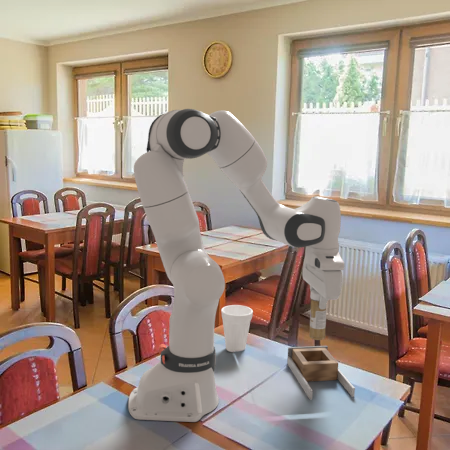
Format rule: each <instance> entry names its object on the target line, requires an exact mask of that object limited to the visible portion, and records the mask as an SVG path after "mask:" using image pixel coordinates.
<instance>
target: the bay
mask: <svg viewBox="0 0 450 450" xmlns="http://www.w3.org/2000/svg"><path fill="white" fill-rule="evenodd" d="M328 347H329V346H328V345H316V346H313V345H312V346H291V347H290V346H288V347H287V361H286V364H287V366H288V367H289V369H290V371H291V372H292V375H293V376H294V377H295V379H296V381H298V384H299V385H300V386H301V388H302V389H303V391H304V392H305V395H306V396H307V397H308V399H309V400H311V401H312V400H313V391H314V390H313V388H312V387H311V385H310V384H309V383H308V382H307V381H306V380H305V378H304V377H303V375H302V374H301V372H300V371H299V369H298V368H297V366H296V365H295V363H294V362H293V360H292V349H304V348H326V349H327V350H328V351H329V349H328ZM337 380H338V382H339V383H340V384H341V385H342V387H344V389H345V390H346V391H347V392H348V394H349V395H350V397H351V398H355V394H356V393H355V390H356V387H355V386H354V385H353V384H352V383H351V382H350V380H349V379H348V378H347V377H346V376H345V375H344V373H343V372H342V370H340V368H339V367H338V375H337Z"/></svg>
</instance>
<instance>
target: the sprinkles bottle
mask: <svg viewBox="0 0 450 450" xmlns="http://www.w3.org/2000/svg"><path fill="white" fill-rule="evenodd" d="M318 301H320V294H319V293H318V292H317V291H316V290H312V291H310V309H309V311H310V312H309V314H310V315H309V316H310V317H309V335H308V337H309V339H312V340H314V341H322V340H325V338H326V325H327V308H326V309H320V308H319V307H318Z"/></svg>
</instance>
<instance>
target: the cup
mask: <svg viewBox="0 0 450 450" xmlns="http://www.w3.org/2000/svg"><path fill="white" fill-rule="evenodd" d="M220 310H221V318H222V326H223V333H224V343H225V350H226V351H228V352H230V353H235V352H242V351H244V350H246V347H247V342H248V336H249V330H250V324H251V320H252V318H253V315H254V314H253V313H254V311H253V309H252V308H250V307H249V306H246V305H241V304H231V305H226V306H223V307H222V308H221V309H220Z"/></svg>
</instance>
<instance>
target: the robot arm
mask: <svg viewBox="0 0 450 450" xmlns="http://www.w3.org/2000/svg"><path fill="white" fill-rule="evenodd" d="M205 154H207V155H208V156H209V157H210V158H211V159H212V160H213V162H214V163H215V164H216V166H218V167H217V168H219V169H220V170H221V171H222V172H223V174H224V176H226V177H227V178H228V179H229V180H230V181H231V183H233V184H234V185H235V187H236V188H238V190H239V191H240V192H241V193H240V194H242V195H243V198H245V200H246V201H247V203H248V204H249V206H250V207H251V208H252V209H253V211H254V212H255V214H256V215H257V219H258V223H259V226H260V229H261V231H262V233H263V235H264V236H265V237H266V238H268V239H270V240H272V241H276V242H279V243H281V244H282V243H283V244H284V245H288V246H290V247H293V248H298V249H300V248H305V251H304V252H305V253H304V259H303V265H302V274H301V275H302V279H303V281H305V282H306V284H308V285H309V289H310V290H309V291H310V292H311V291H312V290H316V291H317V292H318V293H319V294H320V301H318V307H319V308H320V309H326V310H327V302H329V300H335V301H336V300H338V299H339V298H340V296H341V292H342V283H343V272H342V271H344V270H345V261H344V260H343V258H342V257H341V254H340V252H339V249H340V244H339V243H340V242H339V235H340V232H341V220H342V216H341V215H342V213H341V206H340V203H339V202H338V201H337V200H335V199H331V198H326V197H322V196H318V195H317V196H311V198H310V200H308V201H307V202H306V203H304V204H303V205H301V206H299V207H296V208H291V207H288V206H286V205H283V204H281V203H279V202H278V201H277V200H276V199H275V197H274V196H273V195H272V193H271V192H270V190H269V188H267V186H266V184H265V183H264V181H263V179H262V177H263V176H264V175H265V172H266V170H267V168H268V159H267V157H266V154H265V152H264V150H263V148H262V147H261V146H260V144H259V142H258V141H257V140H256V138H255V137H254V136H253V134H252V133H251V132H250V131H249V130H248V129H247V128H246V126H245V125H244V124H243V123H242V122H241V121H240V120H239V119H238V118H237V117H236V116H234V115H233V114H232V113H231V111H227V110H225V109H224V110H223V109H221V110H216V111H213V112H211V113H210V114H207V113H205V112H203V111H200V110H198V109H193V108H184V109H174V110H173V109H172V110H171V111H167V112H165V113H163V114H160V115H158V116H157V117H156V118H155V119H154V120H153V121H152V122H151V124H150V127H149V129H148V136H147V144H146V152H145V153H142V154H141V155H140V156H139V157H138V158H137V160H135V162H134V164H133V175H134V181H135V185H136V188H137V193H138V196H139V199H140V203H141V205H142V208H143V211H144V213H145V216H146V218H147V221H148V223H149V226H150V229H151V231H152V234H153V236H154V237H153V238H154V240H155V243H156V247H157V250H158V253H159V255H160V260H161V262H162V265H163V268H164V271H165V275H166V276H167V278H168V279H169V281H170V282H171V284H172V286H173V291H174V293H173V294H174V295H173V296H174V297H173V303H172V304H173V305H172V310H171V313H170V316H169V325H168V326H169V328H168V329H169V330H168V334H169V335H168V336H169V337H168V338H169V339H168V341H169V342H168V346H167V345H166V344H165V343H161V344H159V346H158V352H159V353H158V354H160V361H159V362H157V363H156V364H155V365H153V366H152V367H150V368H149V369H147V370H146V371H144V372H143V374H142V375H141V377H140V379H139V383H138V386H137V387H135V388H133V390H132V391H131V392H130V394H129V397H128V404H127V406H128V413H129V414H130V415H131V417H132V418H133V419H135V420H141V421H145V420H146V421H166V422H167V421H168V422H189V423H196V422H199V421H200V420H201V418H203V417H204V416H205V415H206V414H209V413H211V412H212V411H214V410H215V409H216V408H217V407H218V405H219V402H220V398H219V395H218V393H217V392H218V391H217V388H216V381H215V371H216V365H217V364H216V362H217V357H216V356H217V352H216V347H215V344H214V343H215V324H216V322H215V321H216V316H217V310H218V306H219V301H220V298H221V297H222V295H223V294H224V291H225V287H226V281H225V280H226V279H225V276H224V273H223V271H222V269H221V267H220V265H219V264H218V263H217V262H216V261H215V260H214V259H213V258H212V257H211V256H209V254H208V253H207V251H206V249H205V245H204V243H203V239H202V234H201V233H202V232H201V229H200V220H199V217H198V216H199V215H198V214H197V210H196V208H195V206H194V202H193V200H192V197H191V195H190V191H189V188H188V185H187V182H186V180H185V178H184V173H183V172H184V171H183V170H184V169H183V167H184V162H185V160H187V159H190V160H191V159H197V158H199V157H202V156H204V155H205Z"/></svg>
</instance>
